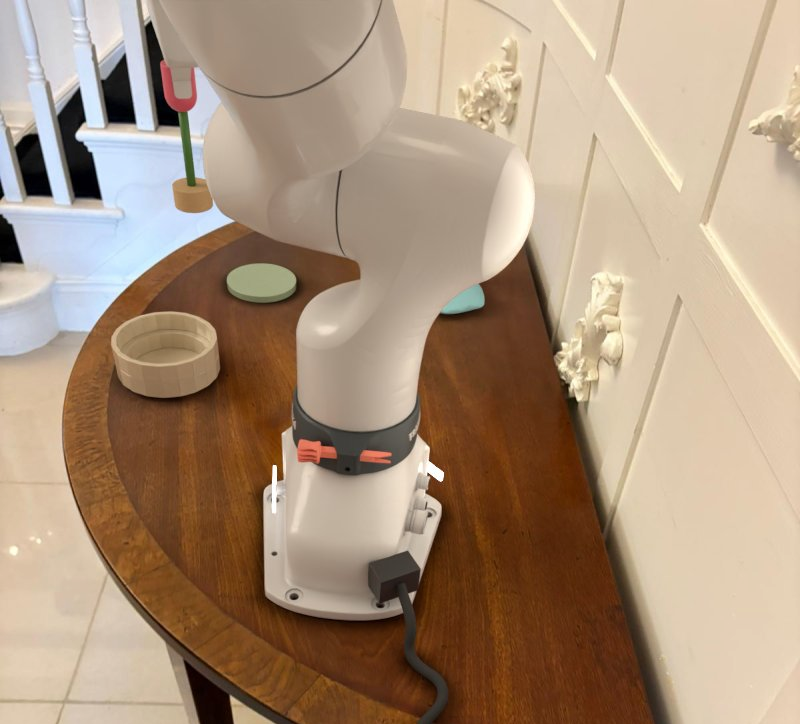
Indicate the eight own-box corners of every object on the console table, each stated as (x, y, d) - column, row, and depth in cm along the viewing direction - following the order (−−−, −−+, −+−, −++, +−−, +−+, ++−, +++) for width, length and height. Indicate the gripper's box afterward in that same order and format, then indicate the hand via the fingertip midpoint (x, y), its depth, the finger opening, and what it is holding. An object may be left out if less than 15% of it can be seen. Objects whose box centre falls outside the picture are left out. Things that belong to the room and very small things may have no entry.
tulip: (208, 214, 91) (193, 71, 81) (170, 211, 91) (150, 67, 81) (216, 199, 94) (202, 58, 84) (179, 195, 94) (161, 54, 84)
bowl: (207, 406, 94) (203, 370, 90) (105, 396, 93) (96, 360, 90) (229, 351, 102) (226, 316, 99) (135, 342, 102) (129, 307, 99)
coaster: (290, 306, 111) (290, 299, 111) (220, 299, 111) (219, 292, 111) (301, 272, 118) (301, 266, 118) (235, 266, 118) (234, 260, 118)
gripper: (118, -94, 80) (141, 59, 90) (134, -50, 67) (159, 124, 77) (182, -92, 81) (197, 58, 91) (209, -49, 68) (224, 122, 78)
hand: (180, 89), depth 84 cm, fingers closed on tulip, 3 cm apart
